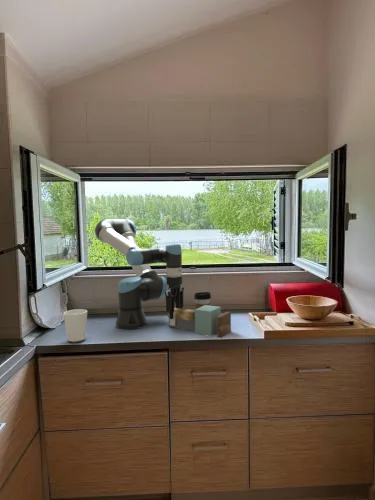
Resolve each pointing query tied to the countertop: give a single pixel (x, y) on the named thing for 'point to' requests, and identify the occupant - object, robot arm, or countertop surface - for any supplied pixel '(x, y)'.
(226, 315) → the wall
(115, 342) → the countertop surface
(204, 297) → the coffee cup
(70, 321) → the cup
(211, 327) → the bore block
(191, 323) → the rail
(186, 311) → the oak peg
